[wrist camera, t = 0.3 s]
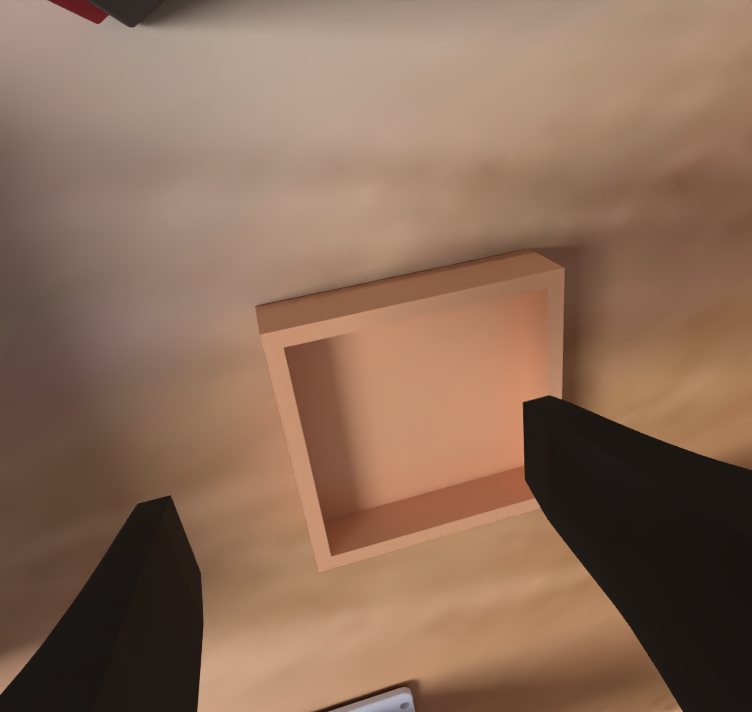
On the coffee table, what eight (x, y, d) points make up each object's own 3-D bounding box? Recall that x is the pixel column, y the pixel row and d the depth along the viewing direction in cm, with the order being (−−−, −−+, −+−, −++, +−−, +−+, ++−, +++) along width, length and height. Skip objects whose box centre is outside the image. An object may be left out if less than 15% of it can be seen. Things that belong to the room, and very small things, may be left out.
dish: (530, 466, 26) (559, 502, 24) (309, 528, 24) (318, 572, 22) (529, 248, 21) (564, 267, 19) (255, 306, 20) (260, 334, 18)
